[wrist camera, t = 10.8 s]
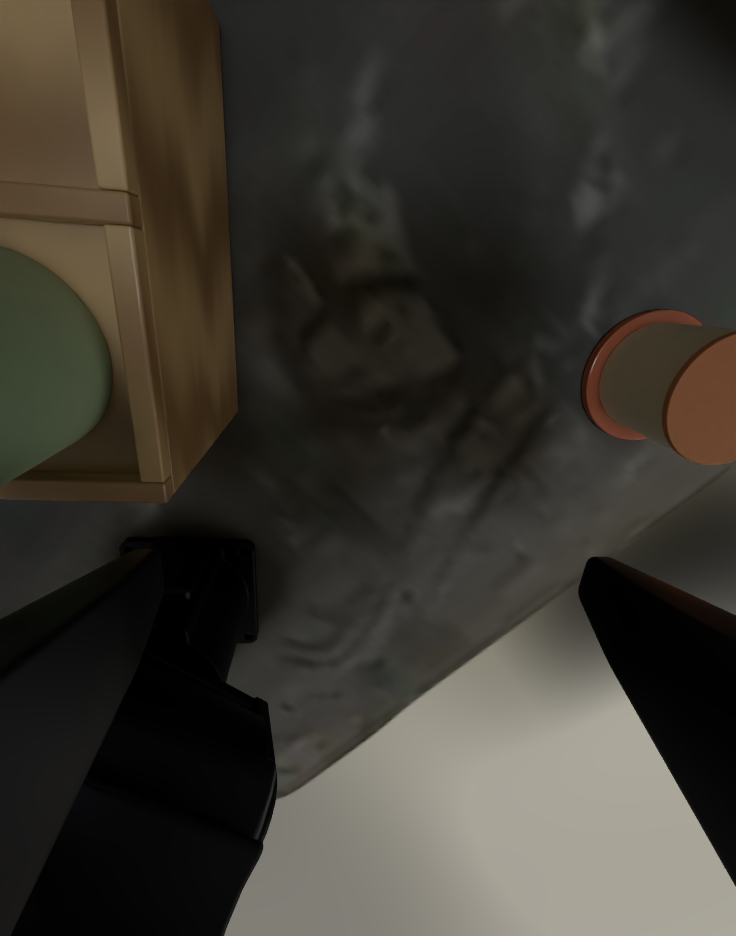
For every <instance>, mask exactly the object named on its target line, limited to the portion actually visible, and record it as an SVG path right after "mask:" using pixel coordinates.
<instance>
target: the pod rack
mask: <svg viewBox="0 0 736 936" xmlns="http://www.w3.org/2000/svg"><path fill="white" fill-rule="evenodd" d="M0 246H1V247H5V248H8V249H10V250H13V251H15V252H18V253H20V254H23V255H25V256H27V257H28V258H30V259H32V260H34V261H36V262H38V263H39V264H41V265H42V266H44V267H45V268H47V269H48V270H50V271H51V272H53V273H54V274H55V275H56V276H57V277H59V278H60V279H61V280H62V281H64V282H65V283H66V284H67V285H68V286H69V287H70V288H71V289H72V290H73V291H74V292H75V293H76V294H77V295H78V296H79V298H80V299H81V300H82V302H83V303H84V304H85V305H86V307H87V308H88V309H89V311H90V312H91V314H92V315H93V317H94V319H95V320H96V322H97V324H98V326H99V328H100V330H101V332H102V334H103V336H104V339H105V342H106V345H107V347H108V351H109V355H110V360H111V367H112V388H111V393H110V398H109V402H108V404H107V407H106V410H105V412H104V414H103V415H102V417H101V419H100V421H99V422H98V423H97V424H96V425H95V427H94V428H93V429H92V430H91V431H90V432H89V433H88V434H86V435H85V436H84V437H83V438H81V439H79V440H78V441H76V442H75V443H73V444H71V445H70V446H68V447H66V448H65V449H63V450H61V451H60V452H58V453H56V454H55V455H53V456H51V457H50V458H48V459H46V460H45V461H43V462H41V463H40V464H38V465H36V466H35V467H33V468H31V469H30V470H28V471H26V472H25V473H23V474H21V475H20V476H18V477H16V478H15V479H13V480H11V481H10V482H8V483H6V484H5V485H3V486H1V487H0V499H19V500H57V501H95V502H133V503H167V502H168V500H169V499H170V498H171V497H172V495H173V493H175V492H176V491H177V489H178V488H179V487H180V485H181V484H182V483H183V482H184V480H185V479H186V478H187V476H188V475H189V474H190V473H191V471H192V470H193V469H194V467H195V466H196V465H197V464H198V462H199V461H200V460H201V458H202V457H203V456H204V455H205V453H206V452H207V451H208V449H209V448H210V447H211V446H212V444H213V443H214V442H215V440H216V439H217V438H218V437H219V435H220V434H221V433H222V431H223V430H224V429H225V428H226V426H227V425H228V424H229V422H230V421H231V420H232V419H233V417H234V416H235V415H236V413H237V412H238V397H237V377H236V356H235V336H234V315H233V295H232V274H231V254H230V234H229V213H228V193H227V172H226V152H225V131H224V111H223V90H222V70H221V50H220V29H219V24H218V21H217V19H216V17H215V15H214V12H213V10H212V8H211V5H210V3H209V1H208V0H0Z"/></svg>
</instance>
